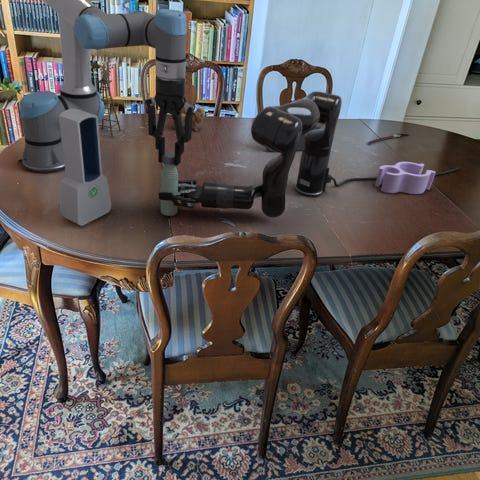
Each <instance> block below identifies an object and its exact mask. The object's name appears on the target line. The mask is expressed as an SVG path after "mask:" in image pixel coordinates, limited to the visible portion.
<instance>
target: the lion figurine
mask: <svg viewBox="0 0 480 480" xmlns="http://www.w3.org/2000/svg"><path fill="white" fill-rule="evenodd" d="M185 115H186V113H182V112H181V119H182V124H183V122H184V123H185ZM205 116H206V113H205V109H204V108H203V107H199V108H196V109H195V110H194V112H193V119H192V130H194V131H195V132H197V131H198V129H197V127H198V124H200V123H202V121H203V120H204V118H205ZM172 123H173V124H172V126H171V127H170V129H173V128H174V129H175V125H174V122H172Z"/></svg>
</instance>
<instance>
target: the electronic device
mask: <svg viewBox="0 0 480 480" xmlns="http://www.w3.org/2000/svg"><path fill="white" fill-rule="evenodd" d="M59 123H60V131H61V139H62V147H63V156H64V164H65V169H64V171H65V176H64V178H62V180H61V184H60V185H61V187H60V205H59V210H60V213H61V215H62V217H63V218H65V219H66V220H69V221H70V222H72V223H74V224H76V225H78V226H81V227H83V226H85V225H86V224H87V225H88V224H90V223H91V222H92V221H95V220H97V219H98V218H101V217H103V216H104V215H106V214H108V213H110V211H111V210H112V201H111V195H110V188H109V182H108V176H107V175H105V174H104V173H103V167H102V156H101V142H100V126H98V125H99V124H98V116H96V115H94V114H91V113H88V112H85V111H82V110H79V109H69V110H66V111H64V112H62V113H61V114H60V115H59Z"/></svg>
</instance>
